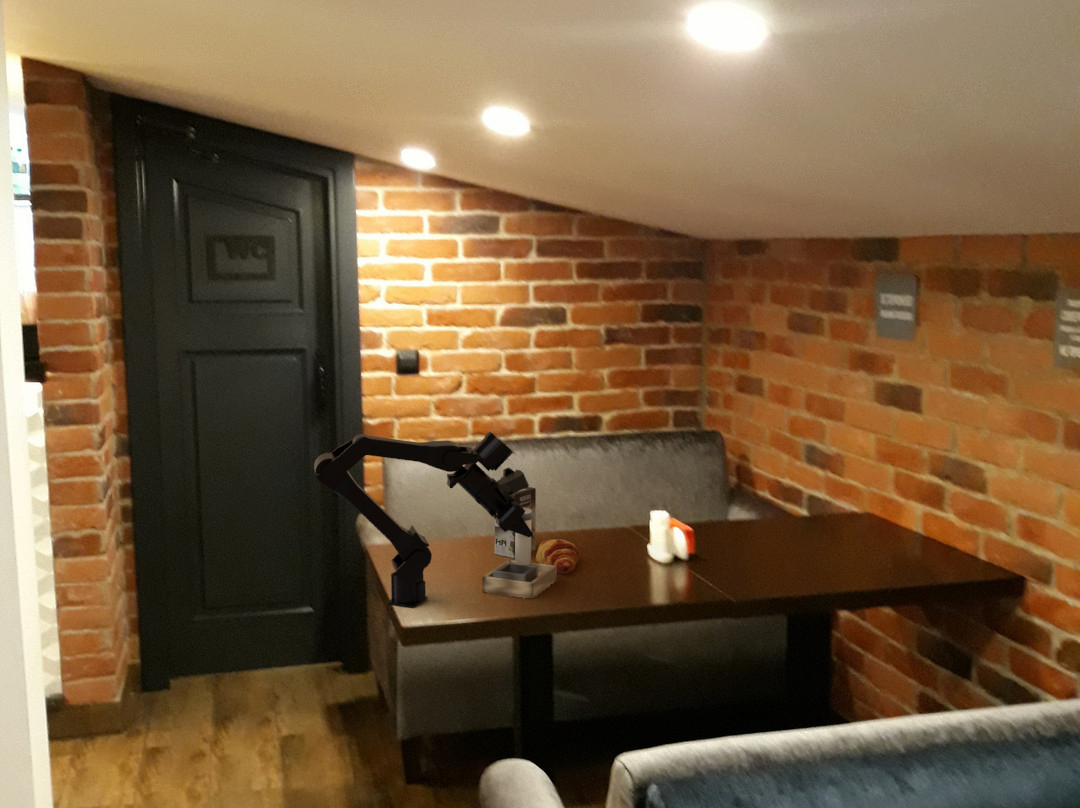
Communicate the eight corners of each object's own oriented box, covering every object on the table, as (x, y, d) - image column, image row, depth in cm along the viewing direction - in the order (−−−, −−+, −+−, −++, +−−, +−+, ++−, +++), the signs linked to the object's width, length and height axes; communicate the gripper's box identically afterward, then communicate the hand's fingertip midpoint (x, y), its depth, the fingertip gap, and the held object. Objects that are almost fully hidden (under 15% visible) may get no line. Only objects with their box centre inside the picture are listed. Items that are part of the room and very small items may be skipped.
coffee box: (514, 558, 261) (514, 494, 259) (493, 554, 265) (493, 490, 263) (536, 550, 268) (536, 487, 266) (516, 546, 272) (516, 484, 270)
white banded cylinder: (516, 565, 233) (517, 511, 231) (513, 560, 236) (513, 507, 235) (532, 564, 234) (533, 511, 232) (528, 559, 237) (529, 507, 236)
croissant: (536, 566, 267) (521, 540, 265) (571, 546, 268) (556, 519, 266) (556, 591, 246) (540, 563, 245) (593, 569, 248) (578, 540, 246)
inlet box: (482, 592, 236) (482, 571, 235) (508, 574, 249) (508, 554, 248) (532, 599, 232) (532, 578, 231) (556, 580, 244) (556, 560, 244)
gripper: (515, 468, 222) (566, 517, 226) (497, 451, 240) (544, 497, 244) (478, 506, 221) (529, 555, 225) (462, 486, 239) (510, 532, 243)
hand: (529, 533), depth 235 cm, fingers closed on white banded cylinder, 3 cm apart
